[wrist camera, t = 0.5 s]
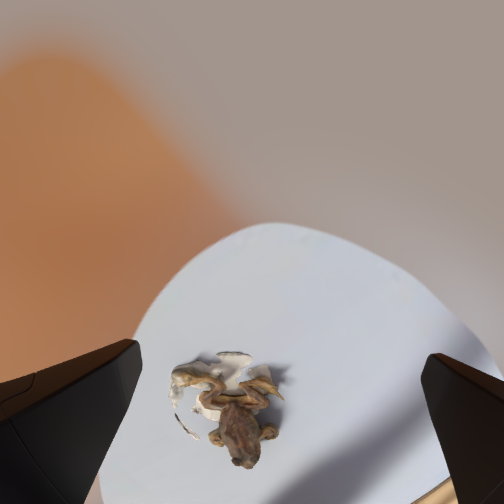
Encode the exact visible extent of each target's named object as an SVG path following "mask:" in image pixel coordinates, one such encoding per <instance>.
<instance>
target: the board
mask: <svg viewBox="0 0 504 504" xmlns="http://www.w3.org/2000/svg"><path fill="white" fill-rule="evenodd" d="M412 504H458V501H457V497H456V494H455V490H454V486H453V483H452V480H451V477H449V478H448V479H447V480H445V481H444V482H443V483H441V484H440V485H438V486H437V487H436V488H434V489H433V490H431V491H430V492H429V493H427V494H426V495H424V496H423V497H421V498H420V499H418V500H416V501H415V502H413V503H412Z"/></svg>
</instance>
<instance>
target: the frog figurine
mask: <svg viewBox="0 0 504 504" xmlns="http://www.w3.org/2000/svg"><path fill="white" fill-rule="evenodd" d="M216 355H217V356H218V358H219V359H220V360H221V362H220V363H218V364H216V363H211V364H210V366H208V365H206V364H204V363H202V362H200V361H198V360H197V361H195V362H193V363H191V364H186V365H181V366H177V367H175V368H174V369H173V371H172V374H171V375H172V376H171V381H170V383H171V387H170V391H169V397H170V398H171V400H172V401H173V403H172V406H173V407H174V409H176V407H177V403H178V402H179V400H180V399H181V398H182V397H183V394H184V388H185V387H187V386H190V385H191V386H192V387H194V388H198V389H201V388H207V389H208V390H207V391H203V392H202V393H201V394H198V395H197V397H196V401H197V405H195V406H194V407H192V408H191V410H192V412H193V411H194V412H195V413H196V414H199V413H200V414H204V415H205V417H206V418H207V419H210V420H214V421H219V424H220V425H219V429H216V430H213V431H211V432H210V433H209V434H208V439H209V441H210V442H212V444H214V445H218V446H219V447H223V444H224V445H225V446H227V447H228V450H229V452H230V456H231V457H232V458H233V459H232V463H234V465H235V466H243V467H244V468H246V469H252V468H253V466H254V465H255V464H256V463H257V461H259V458H260V454H261V449H260V448H261V447H260V440H261V439H262V438H265V439H266V440H270V439H275V438H276V437H278V435H279V430H278V428H277V427H276V426H275V425H274V424H271V423H265V424H263V425H261V426H259V425H258V423H257V421H256V419H255V418H254V417H253V416H254V415H257V414H259V410H257V409H261V408H267V407H268V404H269V400H268V399H267V398H265V396H264V394H270V395H271V394H274V395H276V396H278V397H280V398H281V399H282V400H284V399H283V398H282V397H281V395H280V394H279V393H278V392H277V391H278V387H276V386H275V384H274V383H273V382H272V379H271V374H270V371H269V368H268V366H267V365H263V366H259V367H257V368H256V369H248V373H249V374H250V375H251V377H252V380H249V381H244V382H240V383H239V384H238V383H237V381H236V380H235V379H236V378H237V377H239V376H240V375H241V369H242V367H245V366H247V365H248V364H249V363H251V362H252V360H253V357H252V356H250V355H245V354H241V353H236V352H233V353H231V352H230V353H220V354H216ZM243 390H244V391H245V392H244V391H243ZM197 410H198V411H197ZM175 417H176V419H177V421H178V422H179V423H180V425H181V426H182V427H183V428H184V430H185V431H186V433H187V434H189V435H191V436H192V437H193V438H194V439H196V440H200V438H199V436H198V435H197V434H196V433H195V432H193V431H192V430H191V429H189V428H187V427H186V426H185V424H184V423H183V422H182V421H180V420H179V418H178V416H177V415H176V413H175Z"/></svg>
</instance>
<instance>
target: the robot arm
mask: <svg viewBox="0 0 504 504" xmlns="http://www.w3.org/2000/svg"><path fill="white" fill-rule="evenodd" d="M141 371H142V357H141V350H140V344H139V342H138V341H136V340H131V339H123V340H121V341H118V342H116V343H113V344H110V345H108V346H105V347H103V348H100V349H97V350H95V351H92V352H89V353H87V354H84V355H81V356H79V357H76V358H73V359H71V360H68V361H65V362H62V363H60V364H57V365H54V366H51V367H49V368H46V369H43V370H40V371H37V373H32V374H29V375H26V376H23V377H20V378H16V379H13V380H10V381H6V382H3V383H0V504H84V502H85V500H86V497H87V495H88V493H89V490H90V488H91V486H92V484H93V482H94V479H95V477H96V475H97V473H98V471H99V469H100V466H101V464H102V462H103V460H104V458H105V456H106V454H107V451H108V449H109V447H110V445H111V443H112V441H113V439H114V437H115V435H116V433H117V430H118V428H119V426H120V424H121V422H122V420H123V418H124V416H125V414H126V412H127V410H128V407H129V405H130V402H131V399H132V396H133V393H134V391H135V388H136V385H137V382H138V379H139V377H140V374H141ZM421 384H422V387H423V391H424V394H425V398H426V402H427V406H428V409H429V413H430V417H431V420H432V423H433V426H434V428H435V431H436V434H437V437H438V439H439V442H440V445H441V448H442V451H443V454H444V457H445V460H446V463H447V466H448V470H449V473H450V476H451V480H452V483H453V486H454V490H455V494H456V497H457V501H458V504H504V381H502V380H500V379H498V378H495V377H493V376H491V375H489V374H486V373H484V372H482V371H480V370H477V369H475V368H473V367H471V366H468V365H466V364H464V363H462V362H460V361H457V360H455V359H453V358H451V357H449V356H446V355H444V354H442V353H435V354H430V355H429V356H428V358H427V361H426V363H425V366H424V369H423V372H422V374H421Z"/></svg>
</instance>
